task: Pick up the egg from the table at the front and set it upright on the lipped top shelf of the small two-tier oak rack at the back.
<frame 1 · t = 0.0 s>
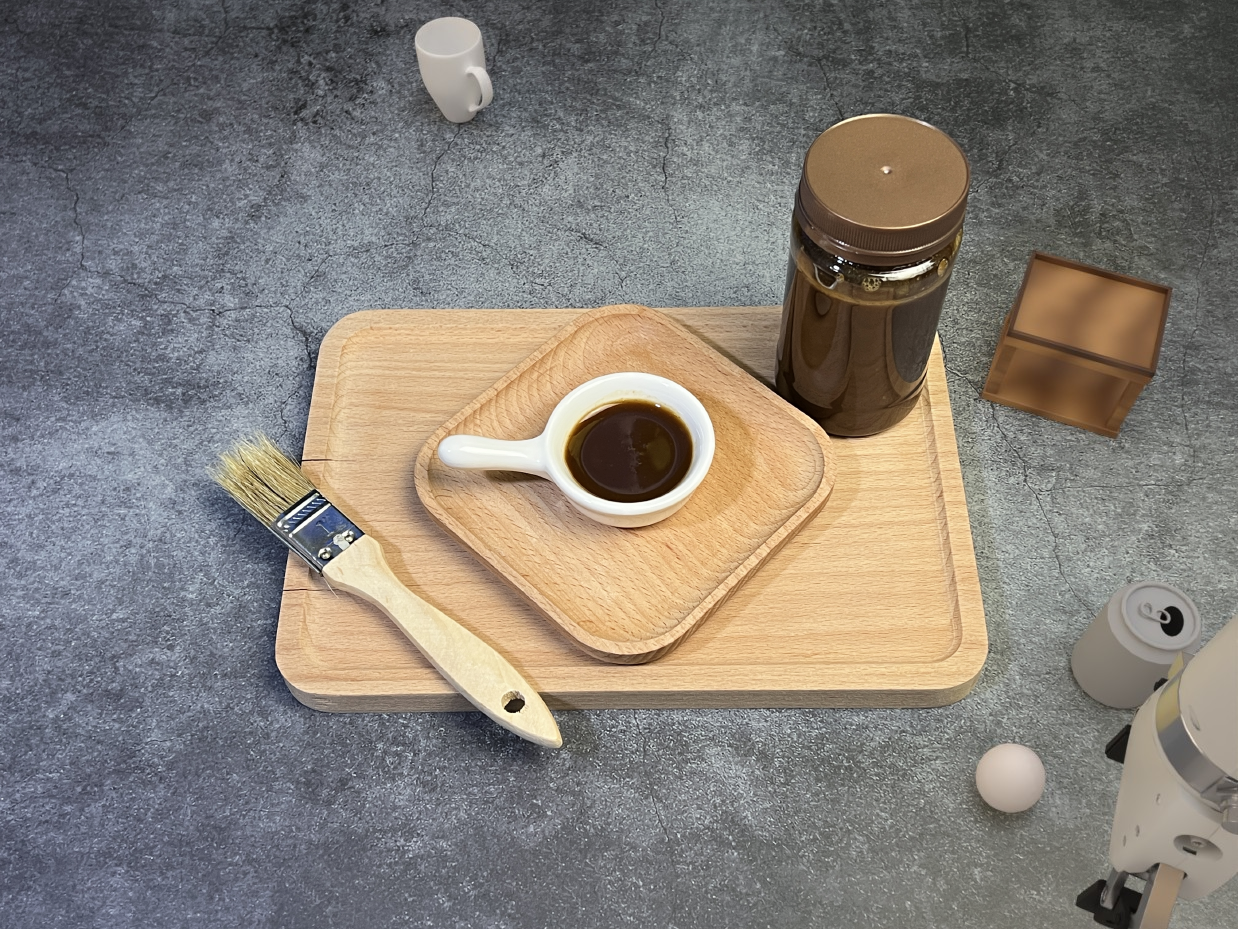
hand: (1116, 833, 66), 26 cm above the worktop, tool pointing down, fingers open, 9 cm apart
egg: (998, 792, 93), on the worktop
mug: (468, 120, 144), on the worktop
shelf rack: (1058, 377, 118), on the worktop
can: (1109, 673, 99), on the worktop
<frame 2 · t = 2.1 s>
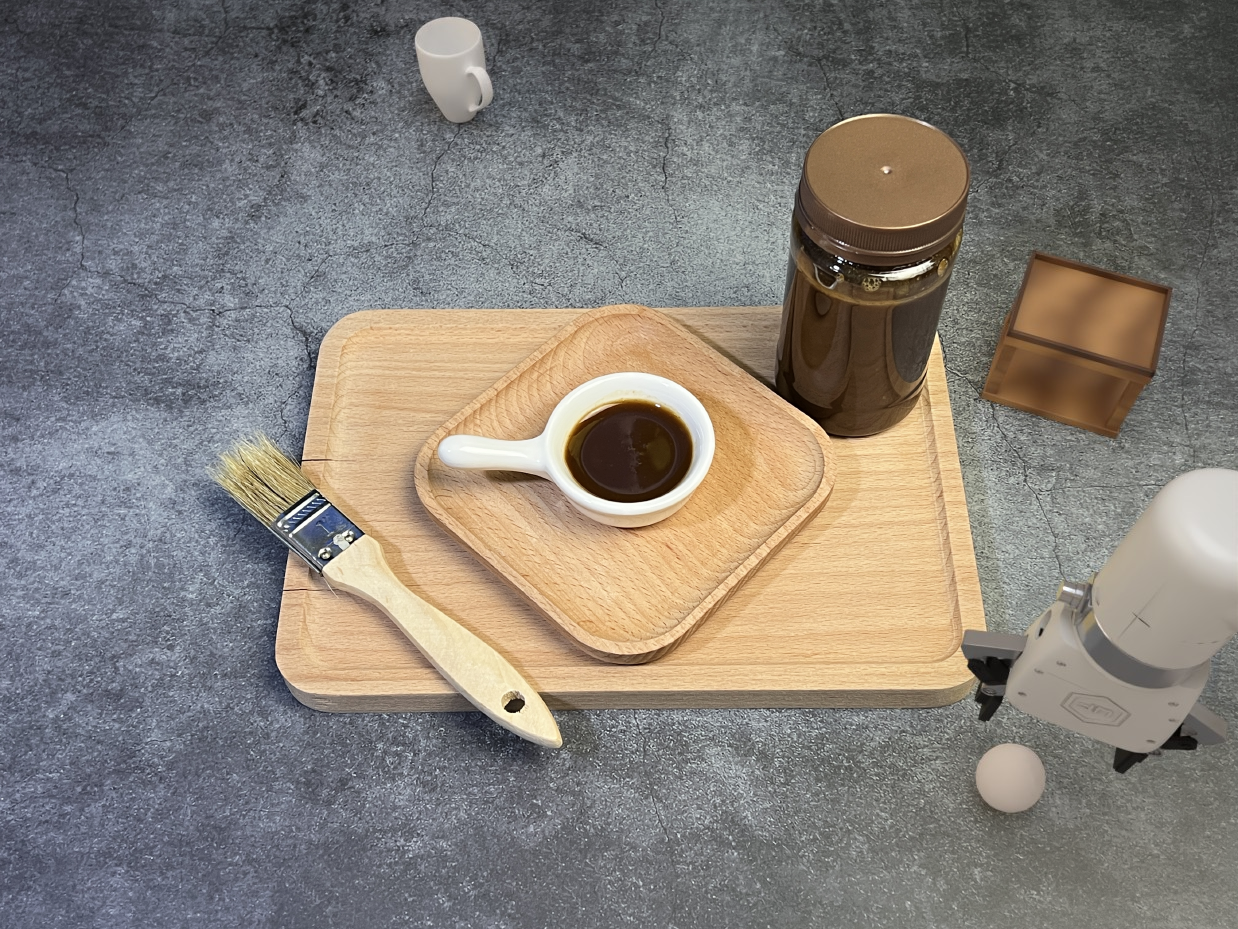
hand: (1052, 728, 80), 16 cm above the worktop, tool pointing down, fingers open, 9 cm apart
nothing on the worktop moved.
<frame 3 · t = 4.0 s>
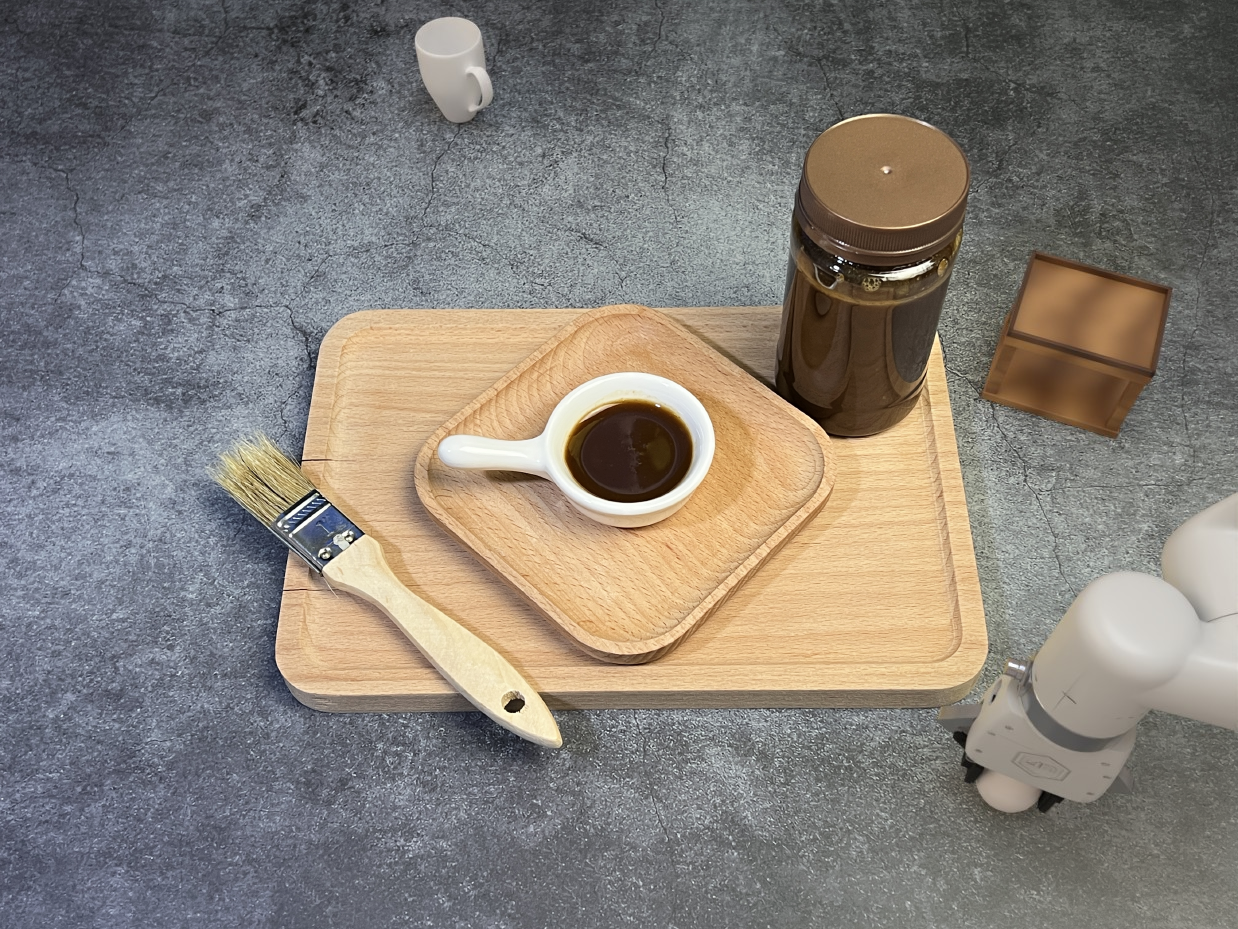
hand: (1008, 780, 91), 3 cm above the worktop, tool pointing down, fingers closed on egg, 5 cm apart
egg: (998, 792, 93), on the worktop, touching gripper
everything else where it was.
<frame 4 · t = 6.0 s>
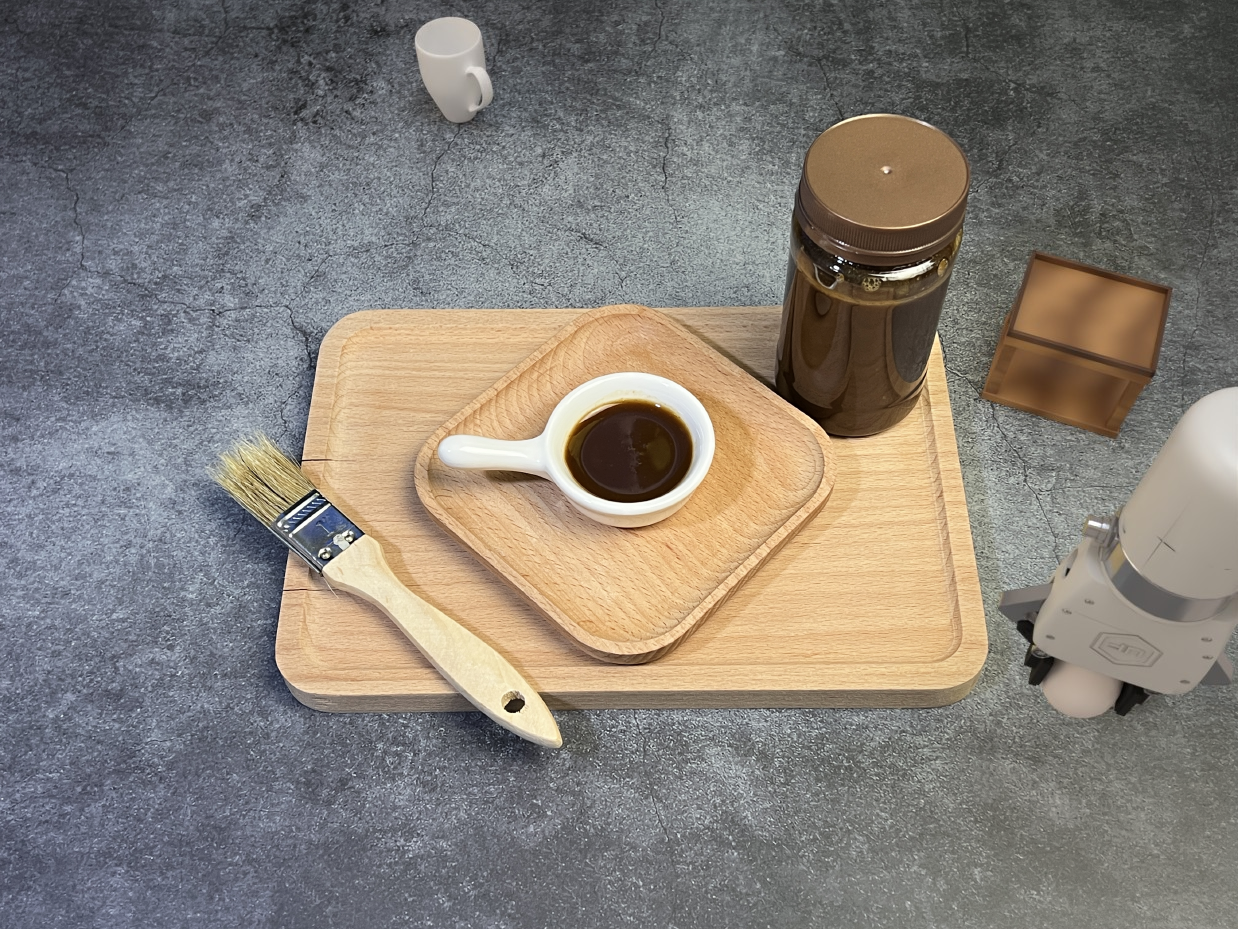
hand: (1079, 681, 79), 19 cm above the worktop, tool pointing down, fingers closed on egg, 5 cm apart
egg: (1066, 698, 81), point 16 cm above the worktop, touching gripper
everything else where it was.
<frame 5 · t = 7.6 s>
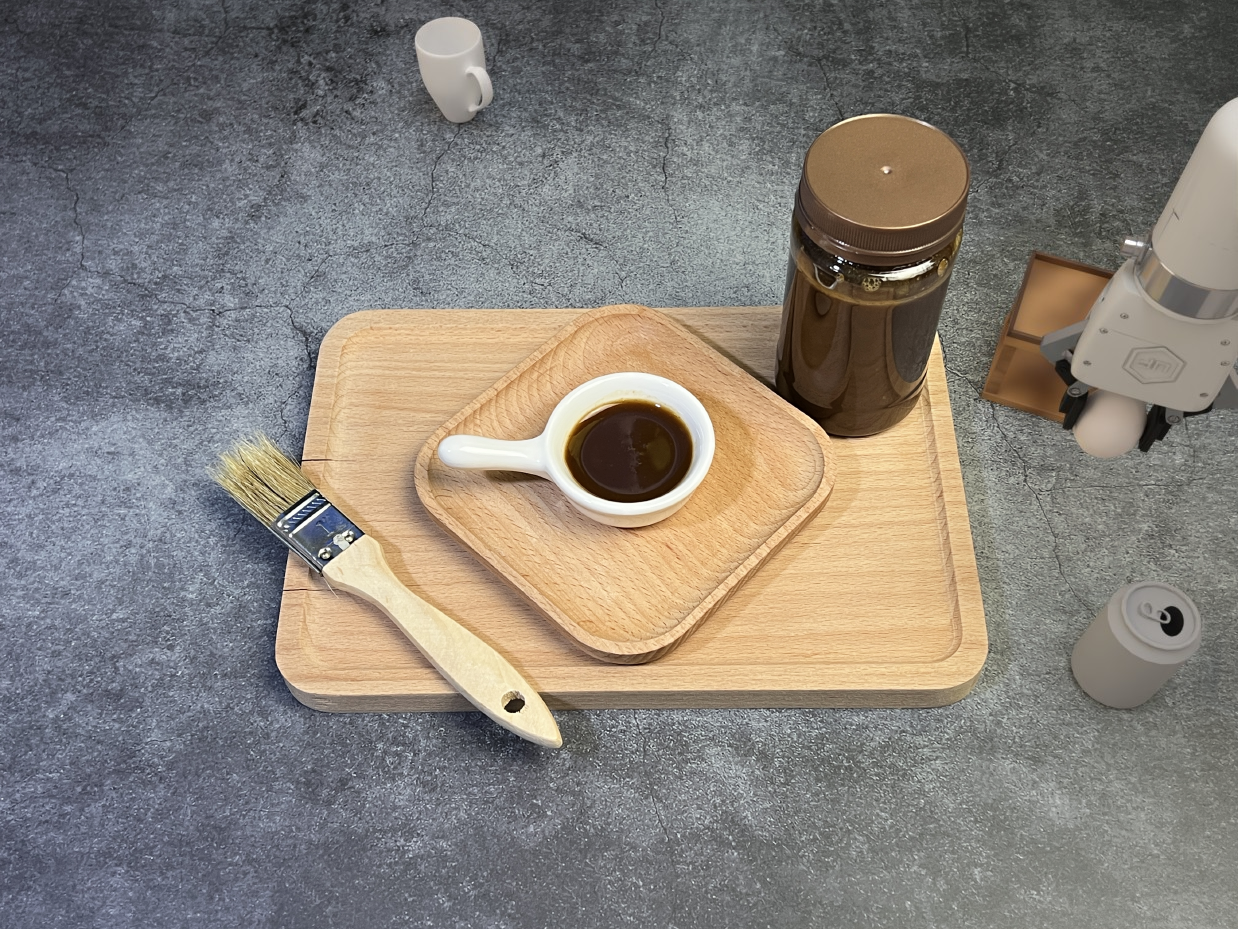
hand: (1107, 426, 89), 20 cm above the worktop, tool pointing down, fingers closed on egg, 5 cm apart
egg: (1094, 448, 92), point 17 cm above the worktop, touching gripper
everything else where it was.
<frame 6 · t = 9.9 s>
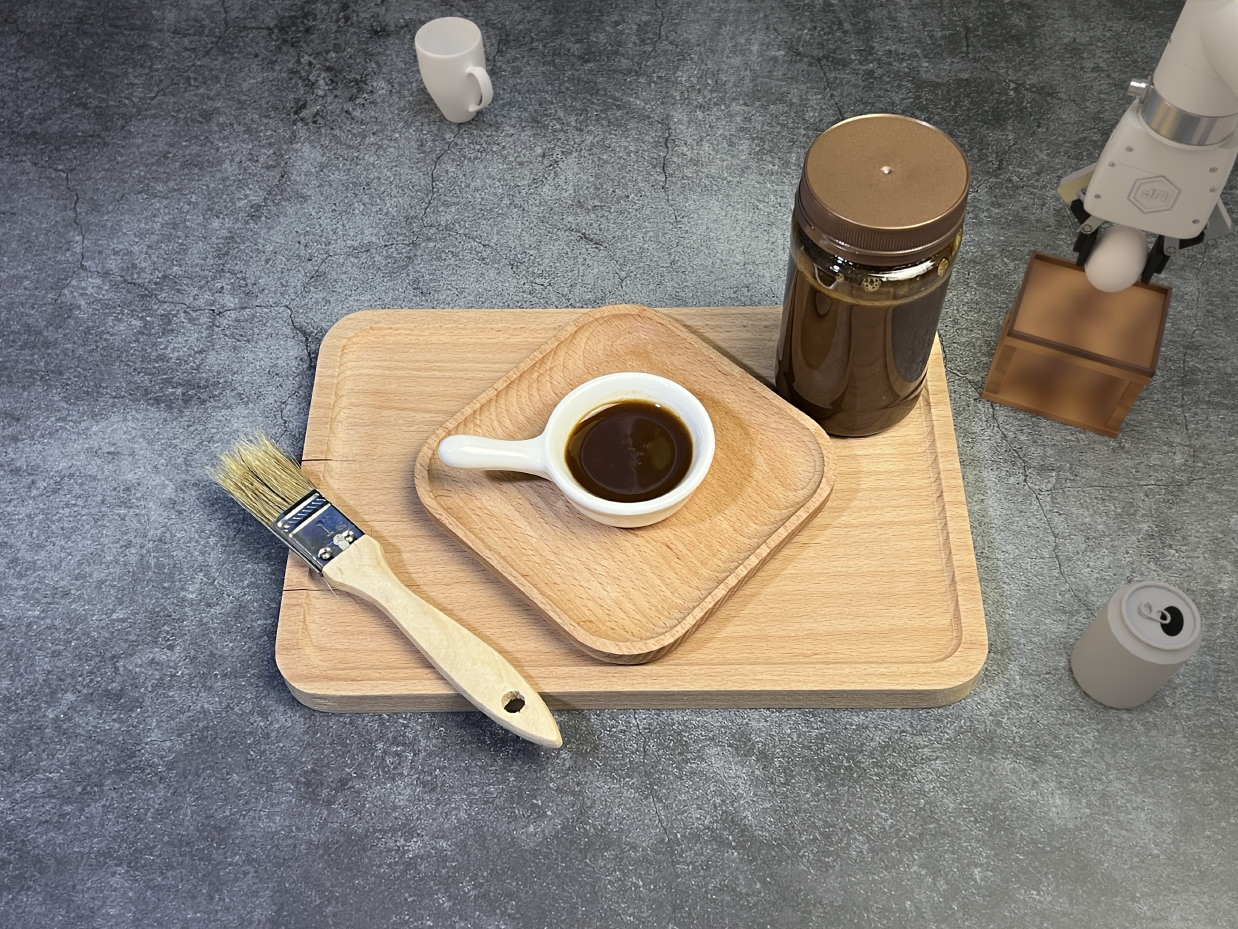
hand: (1114, 264, 104), 17 cm above the worktop, tool pointing down, fingers closed on egg, 5 cm apart
egg: (1102, 286, 107), point 14 cm above the worktop, touching gripper
everything else where it was.
when the fingers open (13 cm above the worktop, at t = 11.4 s): egg stays where it is, resting on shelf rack.
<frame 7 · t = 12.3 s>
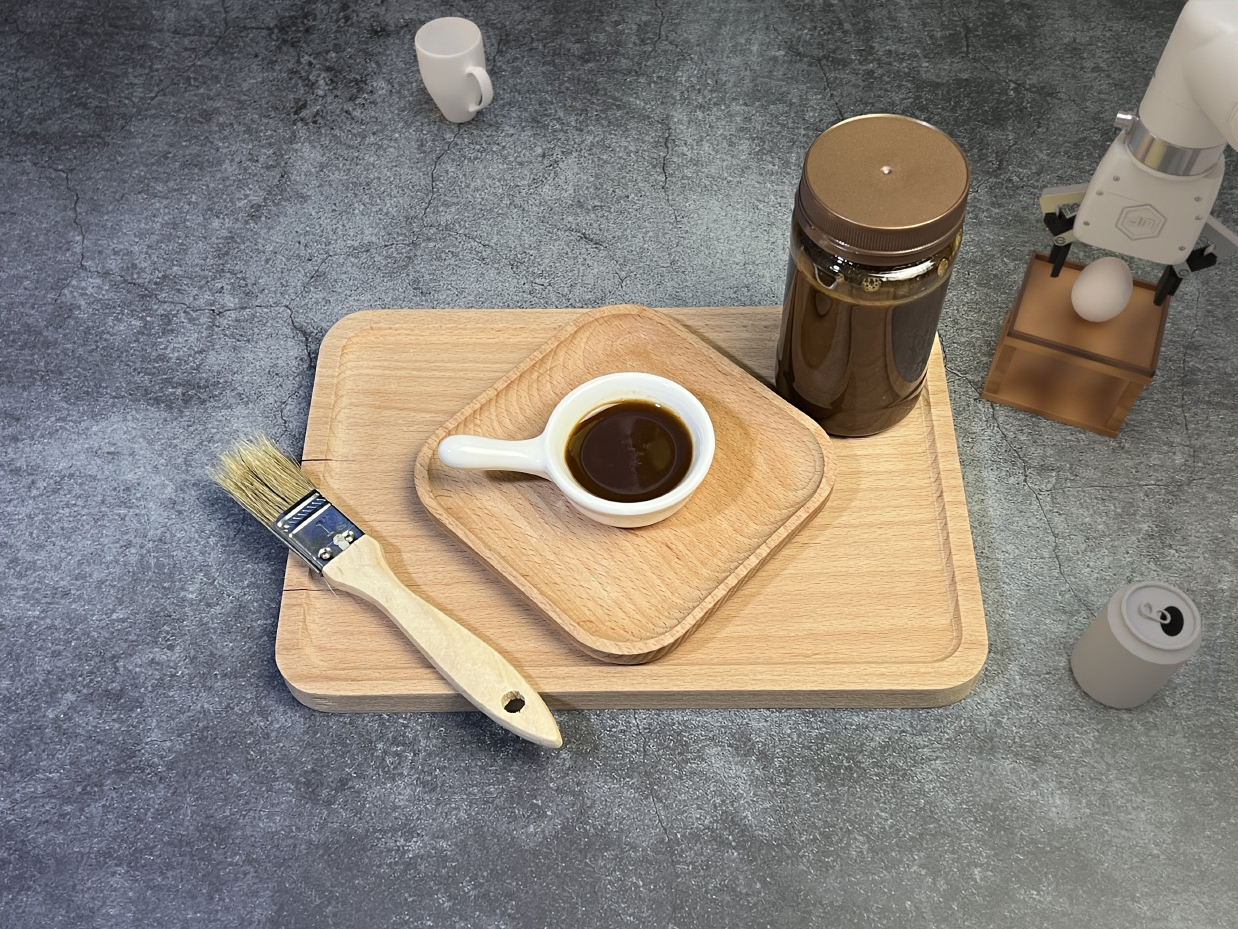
hand: (1106, 281, 106), 15 cm above the worktop, tool pointing down, fingers open, 9 cm apart
egg: (1089, 316, 110), point 10 cm above the worktop, touching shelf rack
everything else where it was.
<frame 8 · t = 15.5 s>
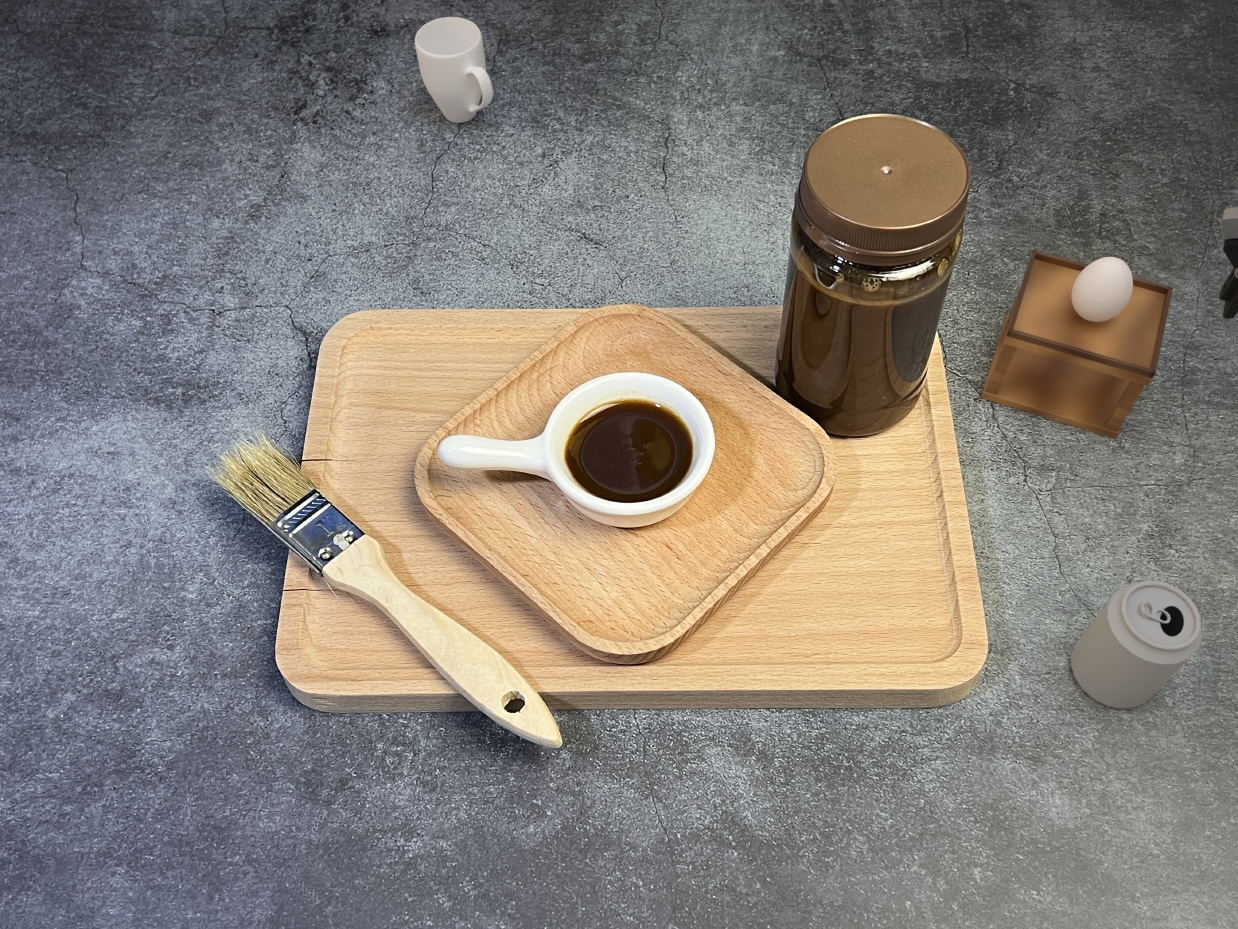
nothing on the worktop moved.
at the end: egg inside the target area on the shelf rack (0.1 cm from its centre), point 9.8 cm above the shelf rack's base; egg tilted 0°; the gripper is holding nothing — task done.
